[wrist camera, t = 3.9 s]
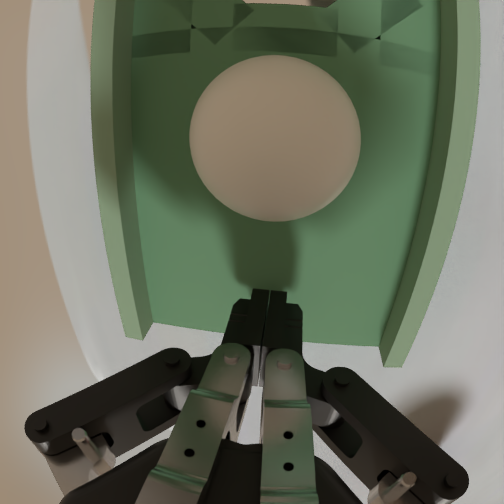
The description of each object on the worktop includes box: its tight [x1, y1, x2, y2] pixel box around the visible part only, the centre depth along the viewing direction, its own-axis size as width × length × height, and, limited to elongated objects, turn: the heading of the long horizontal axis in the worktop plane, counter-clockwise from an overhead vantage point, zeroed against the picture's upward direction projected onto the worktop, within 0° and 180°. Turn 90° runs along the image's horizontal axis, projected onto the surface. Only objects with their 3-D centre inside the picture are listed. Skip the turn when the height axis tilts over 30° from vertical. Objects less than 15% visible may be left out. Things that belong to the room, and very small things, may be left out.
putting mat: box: [91, 0, 480, 367], centre depth 10 cm, size 25×14×4 cm, turn 178°
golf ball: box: [189, 55, 361, 222], centre depth 9 cm, size 5×5×5 cm
